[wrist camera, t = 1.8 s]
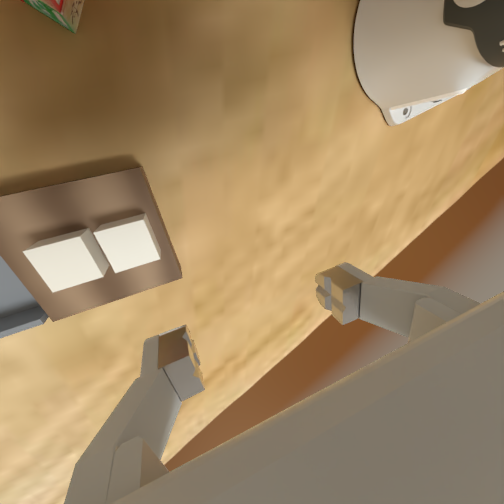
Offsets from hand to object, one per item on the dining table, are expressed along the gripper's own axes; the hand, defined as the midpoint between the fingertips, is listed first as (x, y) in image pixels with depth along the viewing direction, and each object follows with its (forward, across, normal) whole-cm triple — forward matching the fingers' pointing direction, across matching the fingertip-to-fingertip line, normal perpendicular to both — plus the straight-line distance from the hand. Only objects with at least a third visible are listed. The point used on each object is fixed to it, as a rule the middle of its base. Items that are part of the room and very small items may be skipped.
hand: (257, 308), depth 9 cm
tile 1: (+16, +12, 0) cm, 20 cm away
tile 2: (+16, +7, 0) cm, 18 cm away
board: (+19, +10, 0) cm, 22 cm away
